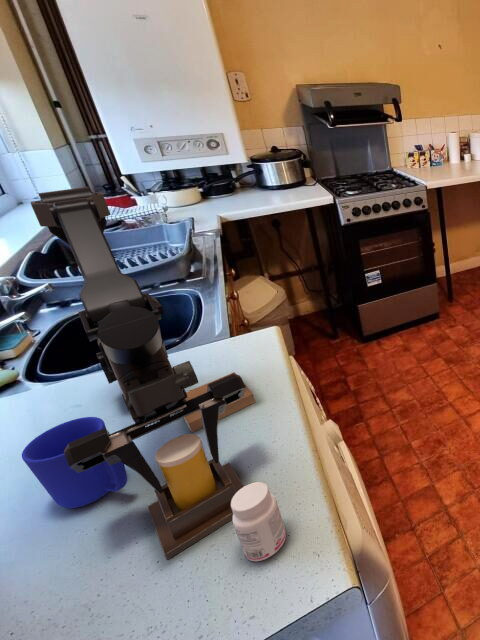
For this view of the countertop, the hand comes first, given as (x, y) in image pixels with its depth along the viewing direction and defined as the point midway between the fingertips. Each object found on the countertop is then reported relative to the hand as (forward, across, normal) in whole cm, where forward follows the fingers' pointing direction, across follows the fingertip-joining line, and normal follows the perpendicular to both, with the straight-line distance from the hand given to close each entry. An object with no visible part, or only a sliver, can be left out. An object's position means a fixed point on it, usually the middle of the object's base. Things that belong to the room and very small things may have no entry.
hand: (190, 477), depth 57 cm
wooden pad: (-12, +8, +22) cm, 27 cm away
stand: (+4, 0, +6) cm, 7 cm away
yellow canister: (+2, 0, +4) cm, 5 cm away
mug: (-6, -9, +16) cm, 19 cm away
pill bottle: (+12, +4, -2) cm, 13 cm away
